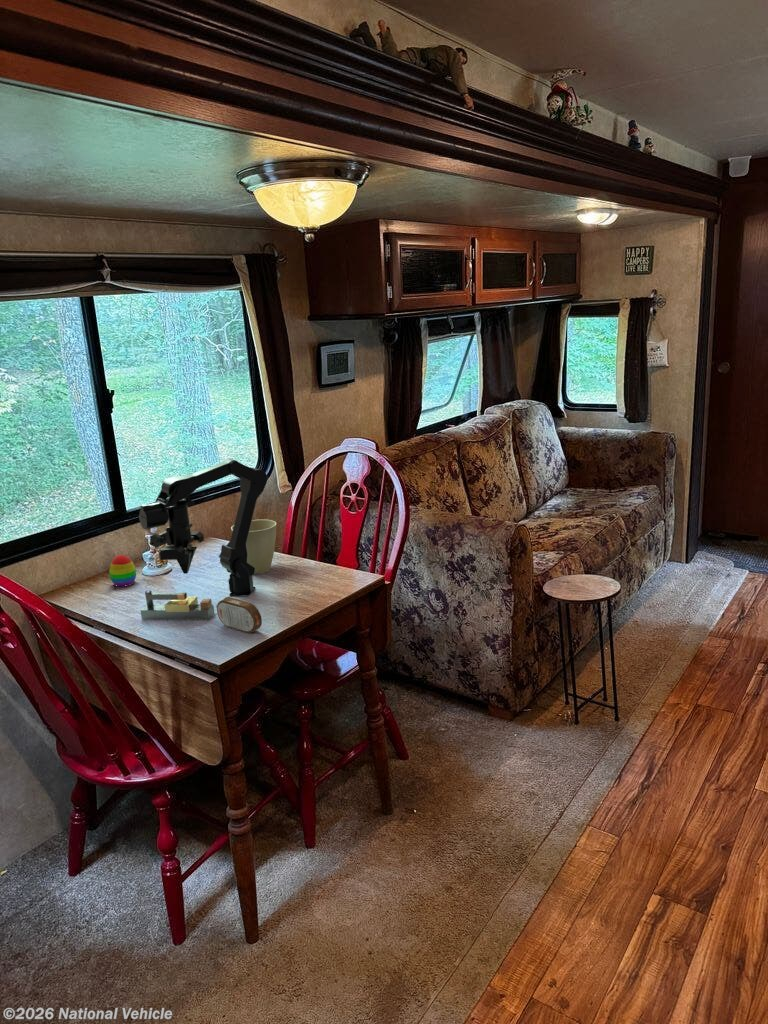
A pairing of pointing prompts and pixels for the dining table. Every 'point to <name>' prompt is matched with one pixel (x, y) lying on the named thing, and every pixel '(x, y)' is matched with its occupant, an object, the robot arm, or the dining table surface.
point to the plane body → (197, 613)
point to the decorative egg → (122, 571)
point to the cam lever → (163, 597)
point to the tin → (239, 615)
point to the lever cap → (181, 604)
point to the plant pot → (261, 544)
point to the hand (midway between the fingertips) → (185, 573)
